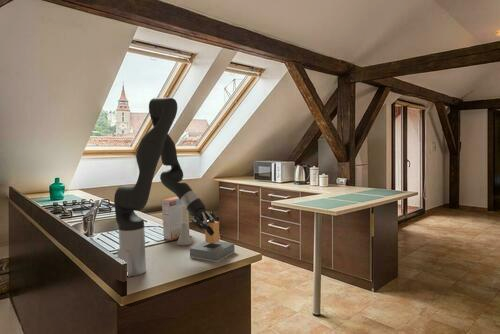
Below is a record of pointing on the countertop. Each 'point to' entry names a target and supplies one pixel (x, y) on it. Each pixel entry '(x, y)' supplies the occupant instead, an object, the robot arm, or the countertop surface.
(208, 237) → the plug
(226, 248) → the socket block
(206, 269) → the countertop surface
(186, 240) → the flask
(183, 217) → the cracker box
